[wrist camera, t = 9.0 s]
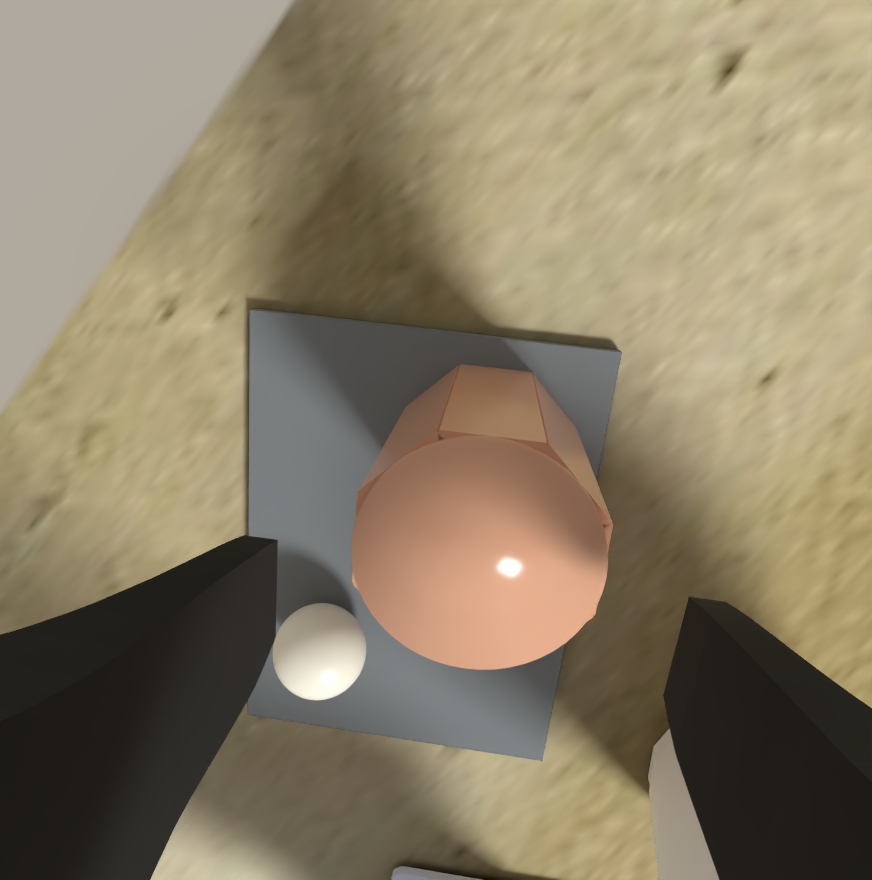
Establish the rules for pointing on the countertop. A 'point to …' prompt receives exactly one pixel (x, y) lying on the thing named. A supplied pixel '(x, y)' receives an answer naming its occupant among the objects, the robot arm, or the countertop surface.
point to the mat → (334, 511)
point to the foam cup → (675, 820)
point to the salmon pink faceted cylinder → (482, 524)
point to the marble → (319, 651)
